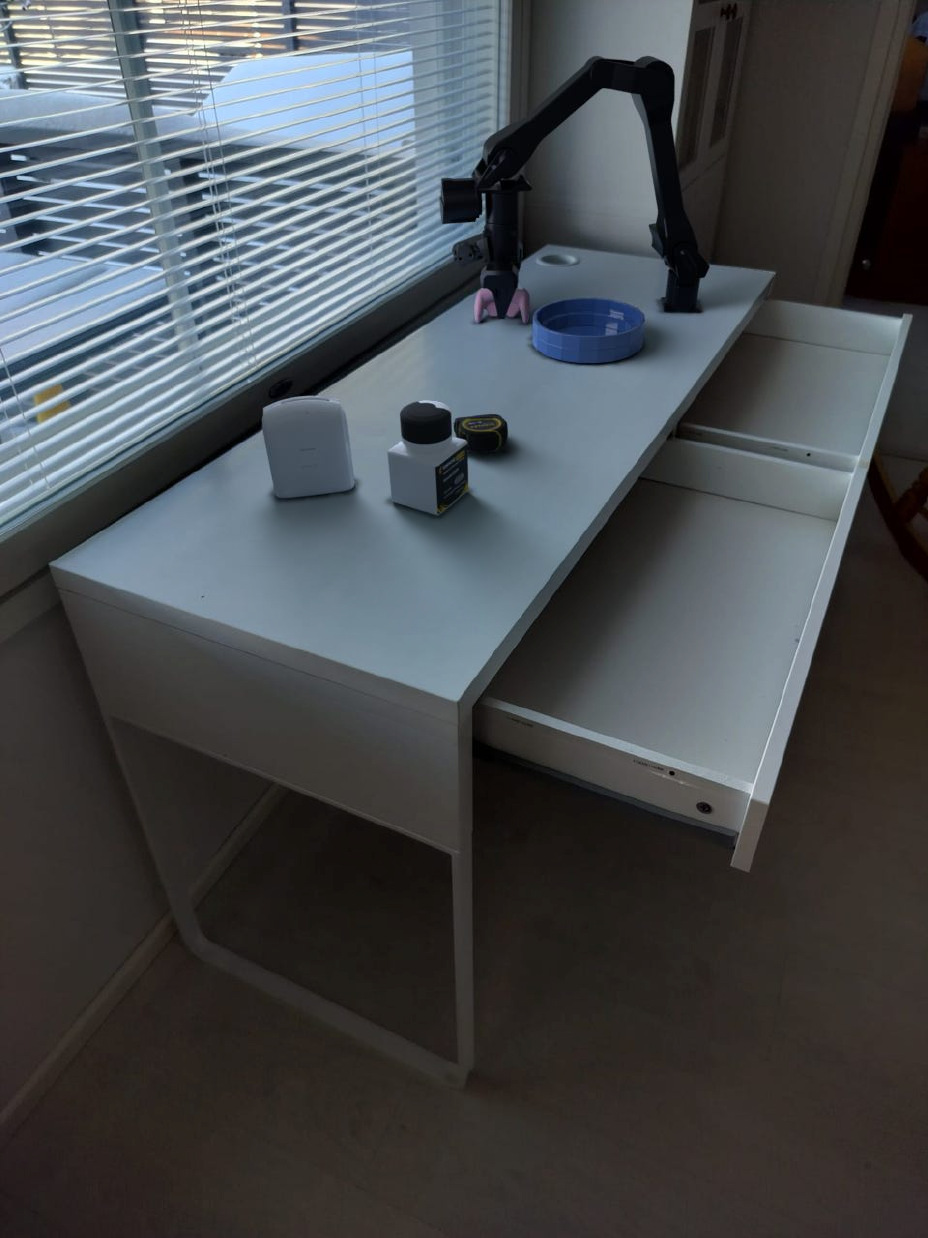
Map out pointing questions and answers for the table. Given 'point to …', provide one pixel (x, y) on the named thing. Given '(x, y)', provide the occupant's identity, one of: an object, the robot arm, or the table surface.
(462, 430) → the tape measure
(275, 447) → the photo printer
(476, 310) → the video game controller
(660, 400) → the table surface
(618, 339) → the bowl
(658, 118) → the robot arm
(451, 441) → the medicine bottle
